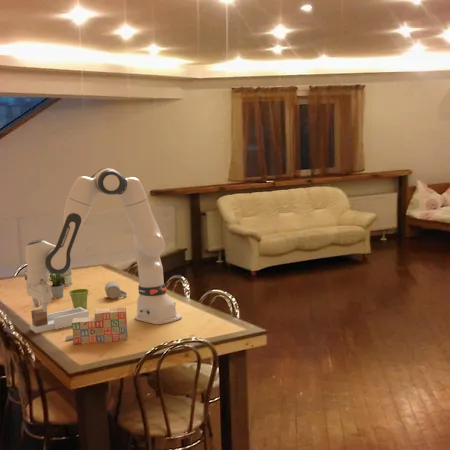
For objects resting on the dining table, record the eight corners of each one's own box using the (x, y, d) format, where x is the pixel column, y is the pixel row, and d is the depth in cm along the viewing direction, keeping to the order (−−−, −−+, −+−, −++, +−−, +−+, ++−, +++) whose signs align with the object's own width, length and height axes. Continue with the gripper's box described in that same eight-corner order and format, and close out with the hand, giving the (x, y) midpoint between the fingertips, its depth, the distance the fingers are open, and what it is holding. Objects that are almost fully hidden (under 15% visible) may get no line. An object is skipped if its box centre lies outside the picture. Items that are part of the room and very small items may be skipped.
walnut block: (47, 324, 273) (46, 310, 272) (36, 326, 270) (35, 313, 269) (43, 321, 277) (42, 308, 276) (32, 324, 274) (31, 310, 273)
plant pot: (70, 312, 300) (69, 294, 298) (69, 307, 309) (68, 289, 307) (90, 309, 302) (89, 292, 301) (89, 305, 311) (88, 287, 310)
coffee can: (55, 287, 352) (53, 262, 350) (52, 284, 361) (50, 259, 359) (74, 284, 356) (72, 260, 354) (70, 281, 365) (68, 257, 363)
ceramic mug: (106, 300, 319) (105, 285, 317) (105, 296, 326) (104, 282, 325) (127, 298, 321) (127, 283, 320) (125, 294, 329) (125, 280, 328)
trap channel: (89, 321, 282) (88, 310, 282) (36, 333, 269) (35, 322, 268) (81, 317, 289) (80, 307, 288) (30, 329, 275) (28, 317, 275)
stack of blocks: (73, 345, 251) (70, 315, 250) (75, 340, 258) (72, 311, 256) (127, 340, 254) (125, 310, 252) (128, 335, 260) (126, 306, 258)
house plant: (78, 292, 337) (75, 262, 334) (69, 299, 323) (66, 268, 321) (52, 293, 338) (49, 263, 336) (42, 300, 325) (39, 269, 322)
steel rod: (99, 334, 265) (97, 331, 267) (99, 331, 264) (97, 328, 266) (67, 342, 257) (65, 339, 258) (67, 338, 256) (66, 335, 258)
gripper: (54, 280, 265) (56, 312, 267) (37, 273, 281) (39, 303, 283) (39, 283, 261) (41, 315, 263) (23, 275, 277) (25, 306, 279)
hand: (40, 309), depth 273 cm, fingers open, 8 cm apart
